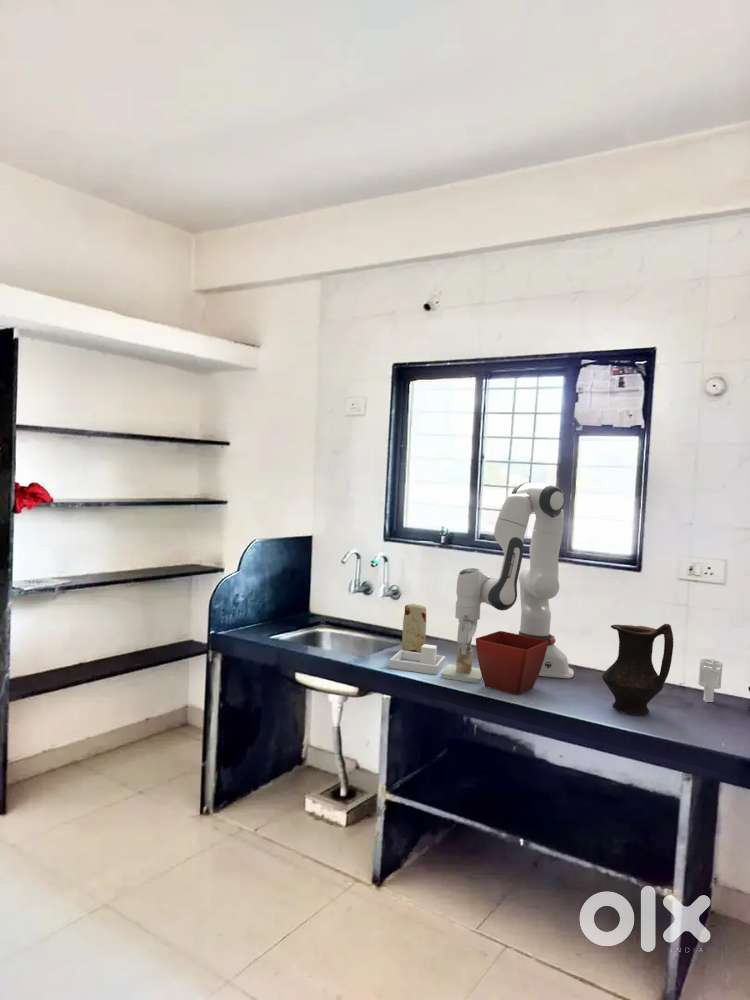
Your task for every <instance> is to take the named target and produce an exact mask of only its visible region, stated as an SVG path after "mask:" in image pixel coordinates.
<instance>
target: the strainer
mask: <svg viewBox="0 0 750 1000" xmlns="http://www.w3.org/2000/svg"><path fill="white" fill-rule="evenodd" d="M723 664H724V663H723V662H722V661H719V660H717V659H715V658H701V659H700V660H699V670H698V671H699V673H698V682H697V684H698V685H699V686H701V687H704V688H703V700H704V701H705V702H704V701H703V700H702V701H703V702H704V703H707V702H713V703H714V697H715V696H714V695H715V690H718V689H721V688H722V676H723V675H722V674H723Z"/></svg>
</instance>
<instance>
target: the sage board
mask: <svg viewBox="0 0 750 1000" xmlns="http://www.w3.org/2000/svg"><path fill="white" fill-rule="evenodd" d="M446 678H447V679H448V680H454V681H460V680H461V681H460V682H467V681H470V682H469V683H474V682H477V683H476V684H481V683H480V682H482V681H483V679H482V675H481V671H480V667H473V666H472V671H471V672H470V674H466V673H459V672H456V664H451V663H448V664H447V665H446V666H445V668H444V669H442V672H441V673H440V679H446ZM481 680H482V681H481Z"/></svg>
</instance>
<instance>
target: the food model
mask: <svg viewBox="0 0 750 1000" xmlns="http://www.w3.org/2000/svg"><path fill="white" fill-rule="evenodd" d="M401 634H402V636H401V639H402V640H401V650H402V651H410V652H417V653H421V647H422V646H423V645H424V644H426V643H425V642H426V634H427V607H426V606H425V605H421V604H415V603H409V604H406V605H405V606H404V613H403V620H402V633H401Z"/></svg>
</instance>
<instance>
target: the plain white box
mask: <svg viewBox="0 0 750 1000" xmlns="http://www.w3.org/2000/svg"><path fill="white" fill-rule="evenodd" d="M437 653H438V645H433V644H428V643H425V644H424V645H423V646H422V647H421V660H420V661H419V663H421V664H428V665H436V657H437Z"/></svg>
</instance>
